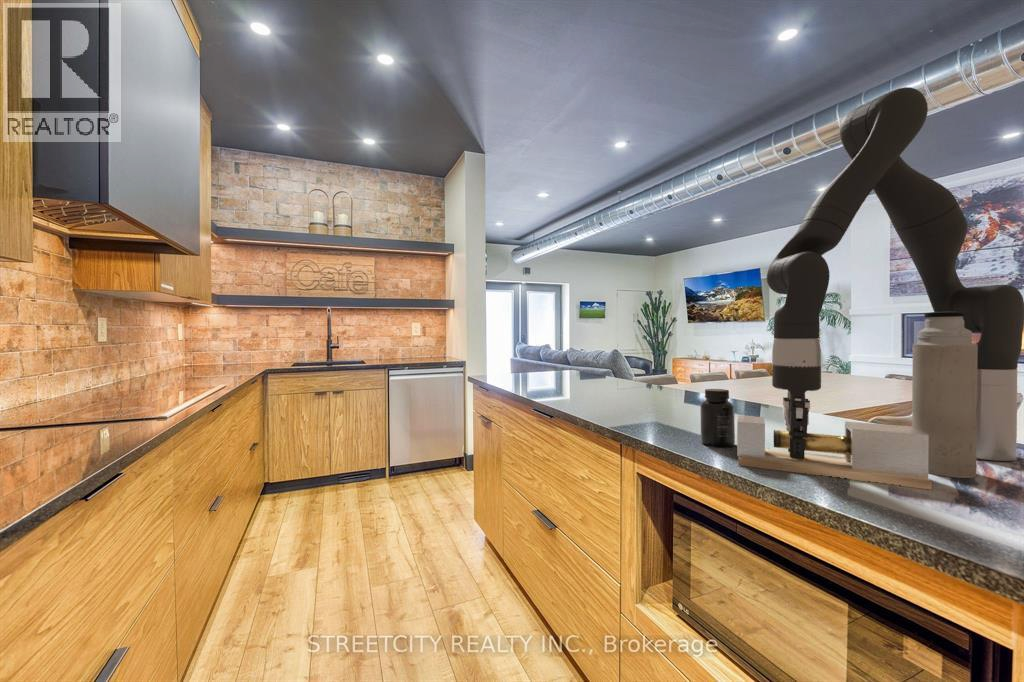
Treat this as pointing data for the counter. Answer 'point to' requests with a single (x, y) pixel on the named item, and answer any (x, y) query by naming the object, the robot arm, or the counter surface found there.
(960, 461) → the thermos bottle
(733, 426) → the supplement bottle
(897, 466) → the sleeve socket
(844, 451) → the tube
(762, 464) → the base board
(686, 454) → the counter surface
